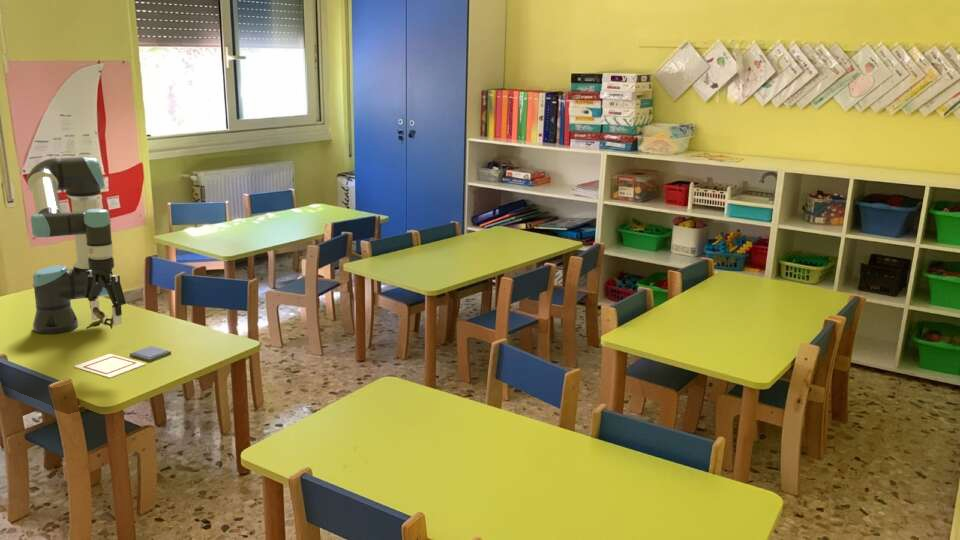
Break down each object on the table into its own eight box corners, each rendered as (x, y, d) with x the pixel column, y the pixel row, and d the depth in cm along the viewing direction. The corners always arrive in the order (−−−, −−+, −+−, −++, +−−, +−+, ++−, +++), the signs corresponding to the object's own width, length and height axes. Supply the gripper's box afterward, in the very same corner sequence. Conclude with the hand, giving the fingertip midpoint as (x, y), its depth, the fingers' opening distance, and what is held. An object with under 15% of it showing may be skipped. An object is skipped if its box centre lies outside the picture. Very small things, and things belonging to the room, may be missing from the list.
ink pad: (129, 356, 275) (129, 352, 275) (151, 348, 283) (150, 345, 282) (149, 361, 271) (149, 358, 270) (170, 353, 278) (170, 350, 278)
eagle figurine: (121, 320, 265) (95, 314, 265) (117, 307, 259) (90, 300, 259) (110, 337, 260) (83, 331, 260) (105, 324, 254) (78, 318, 254)
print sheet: (73, 367, 264) (73, 365, 264) (110, 354, 276) (110, 353, 276) (110, 378, 256) (109, 376, 256) (145, 364, 268) (145, 363, 268)
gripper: (67, 254, 258) (74, 319, 264) (114, 264, 248) (120, 331, 254) (87, 250, 265) (94, 313, 270) (134, 259, 255) (139, 324, 261)
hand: (106, 321), depth 262 cm, fingers closed on eagle figurine, 10 cm apart
